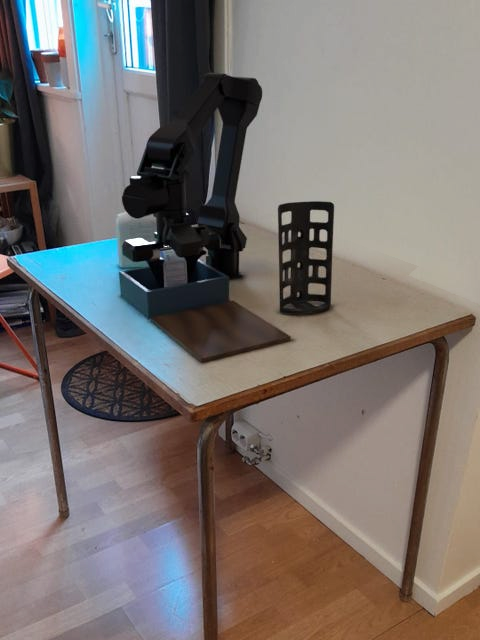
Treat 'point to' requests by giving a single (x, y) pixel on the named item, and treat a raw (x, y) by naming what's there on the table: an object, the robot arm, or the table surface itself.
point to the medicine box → (173, 268)
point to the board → (219, 330)
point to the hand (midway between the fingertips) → (174, 287)
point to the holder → (304, 256)
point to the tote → (173, 290)
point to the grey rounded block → (134, 234)
